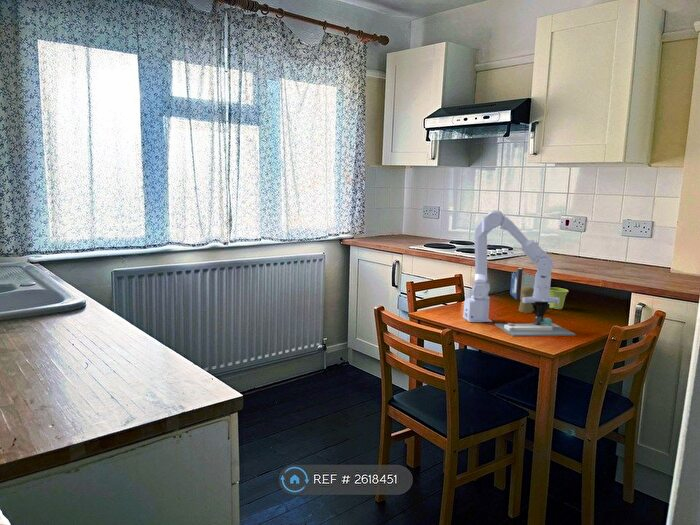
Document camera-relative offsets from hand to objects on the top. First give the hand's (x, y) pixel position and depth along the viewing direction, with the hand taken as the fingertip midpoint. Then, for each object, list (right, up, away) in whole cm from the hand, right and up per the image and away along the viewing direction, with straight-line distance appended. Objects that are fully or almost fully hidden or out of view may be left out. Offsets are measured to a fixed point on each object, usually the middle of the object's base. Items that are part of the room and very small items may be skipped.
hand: (538, 321), depth 204 cm
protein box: (+12, +5, +56) cm, 58 cm away
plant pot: (+20, +2, +35) cm, 41 cm away
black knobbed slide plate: (-4, -2, -4) cm, 7 cm away
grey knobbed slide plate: (-3, -3, -5) cm, 6 cm away
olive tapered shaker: (+4, +1, +26) cm, 27 cm away
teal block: (+2, -3, 0) cm, 4 cm away
